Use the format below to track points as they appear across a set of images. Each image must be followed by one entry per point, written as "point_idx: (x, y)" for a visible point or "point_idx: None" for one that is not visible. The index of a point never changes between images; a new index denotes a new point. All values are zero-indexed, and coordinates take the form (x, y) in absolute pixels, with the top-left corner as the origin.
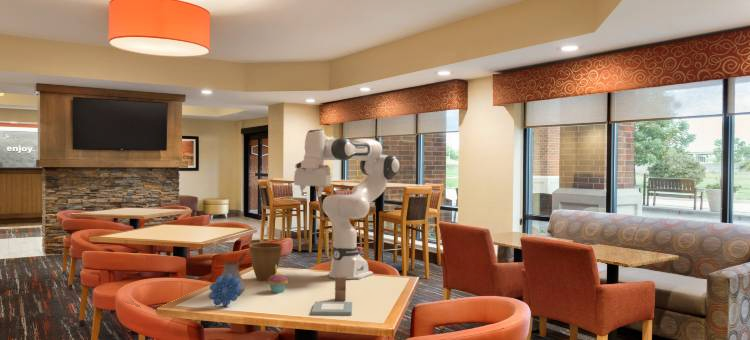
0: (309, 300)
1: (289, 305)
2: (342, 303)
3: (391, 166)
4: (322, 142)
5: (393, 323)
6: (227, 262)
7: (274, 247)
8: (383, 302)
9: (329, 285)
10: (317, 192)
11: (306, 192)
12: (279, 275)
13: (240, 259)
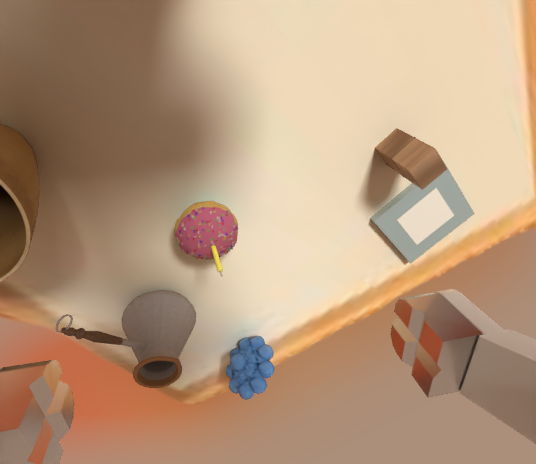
0: (335, 205)
1: (331, 257)
2: (431, 187)
3: None
4: None
5: None
6: (137, 375)
7: (28, 221)
8: (496, 80)
9: (247, 30)
10: (454, 389)
11: (22, 423)
12: (219, 240)
13: (109, 341)
